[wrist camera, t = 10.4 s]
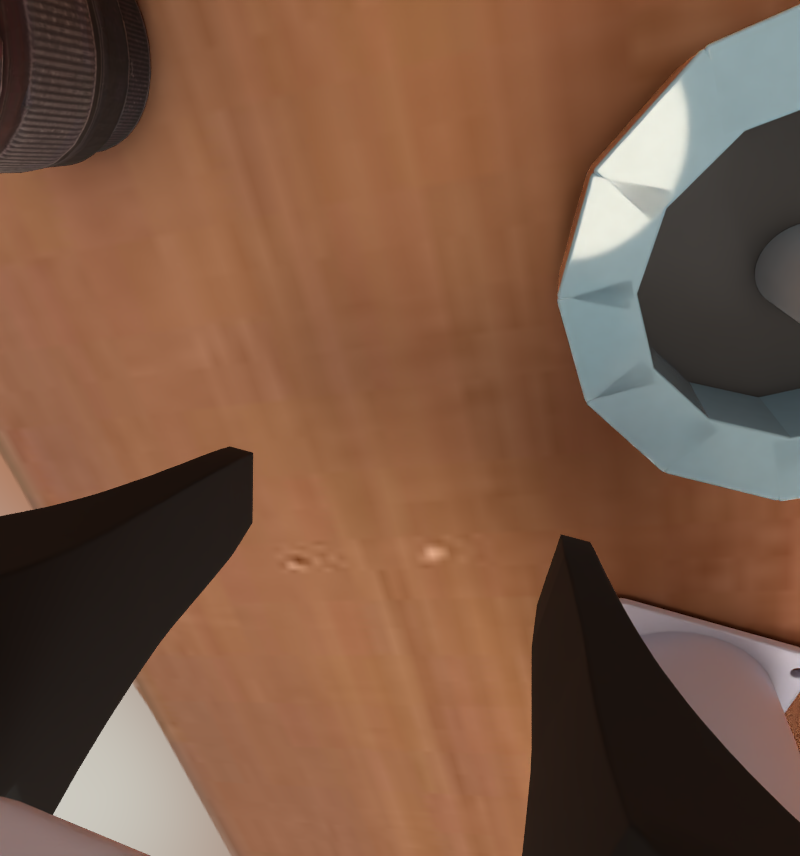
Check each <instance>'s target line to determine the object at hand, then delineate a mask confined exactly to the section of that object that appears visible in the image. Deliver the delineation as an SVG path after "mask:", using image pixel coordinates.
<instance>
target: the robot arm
mask: <svg viewBox="0 0 800 856" xmlns="http://www.w3.org/2000/svg"><path fill="white" fill-rule="evenodd" d="M252 510H253V453H252V452H248V451H244V450H241V449H237V448H233V447H227V448H223V449H220V450H217V451H214V452H211V453H209V454H206V455H203V456H201V457H198V458H196V459H193V460H190V461H188V462H185V463H183V464H180V465H177V466H175V467H172V468H170V469H167V470H164V471H162V472H159V473H156V474H154V475H151V476H148V477H146V478H143V479H140V480H137V481H134V482H131V483H128V484H125V485H122V486H119V487H116V488H113V489H110V490H107V491H104V492H101V493H98V494H95V495H91V496H88V497H84V498H81V499H77V500H73V501H69V502H65V503H61V504H57V505H53V506H49V507H45V508H40V509H35V510H30V511H25V512H20V513H15V514H9V515H5V516H0V856H150V855H147V854H145V853H142V852H140V851H137V850H135V849H132V848H130V847H128V846H125V845H123V844H121V843H118V842H116V841H114V840H111V839H109V838H106V837H104V836H101V835H99V834H97V833H94V832H92V831H90V830H87V829H85V828H82V827H80V826H77V825H75V824H73V823H70V822H68V821H65V820H63V819H61V818H58V817H56V816H53V813H54V812H55V810H56V808H57V806H58V804H59V803H60V801H61V799H62V797H63V796H64V794H65V792H66V790H67V788H68V787H69V785H70V783H71V781H72V780H73V778H74V776H75V774H76V772H77V771H78V769H79V768H80V766H81V764H82V763H83V761H84V759H85V758H86V756H87V754H88V753H89V750H90V749H91V748H92V746H93V744H94V743H95V741H96V739H97V737H98V736H99V734H100V733H101V731H102V729H103V728H104V726H105V725H106V723H107V721H108V720H109V718H110V716H111V715H112V714H113V712H114V710H115V709H116V707H117V706H118V704H119V703H120V701H121V700H122V698H123V696H124V695H125V693H126V692H127V690H128V689H129V687H130V686H131V684H132V682H133V681H134V680H135V678H136V677H137V675H138V674H139V672H140V671H141V669H142V668H143V666H144V665H145V663H146V662H147V660H148V659H149V658H150V656H151V655H152V653H153V652H154V650H155V649H156V647H157V646H158V644H159V643H160V642H161V641H162V639H163V638H164V637H165V635H166V634H167V633H168V631H169V630H170V629H171V628H172V626H173V625H174V624H175V623H176V622H177V621H178V619H179V618H180V617H181V616H182V615H183V613H184V612H185V611H186V610H187V609H188V608H189V606H190V605H191V604H192V603H193V602H194V600H195V599H196V598H197V597H198V596H199V594H200V593H201V592H202V591H203V590H204V589H205V587H206V586H207V585H208V584H209V583H210V581H211V580H212V579H213V578H214V577H215V575H216V574H217V573H218V572H219V571H220V569H221V568H222V567H223V566H224V565H225V563H226V562H227V561H228V560H229V558H230V557H231V556H232V554H233V553H234V551H235V550H236V548H237V547H238V545H239V543H240V542H241V540H242V539H243V537H244V535H245V534H246V532H247V530H248V529H249V527H250V525H251V524H252ZM796 668H800V647H797V646H794V645H790V644H787V643H783V642H779V641H776V640H772V639H769V638H765V637H761V636H758V635H754V634H751V633H747V632H744V631H740V630H736V629H733V628H729V627H726V626H722V625H718V624H715V623H711V622H708V621H704V620H701V619H697V618H693V617H690V616H686V615H683V614H679V613H676V612H672V611H668V610H665V609H661V608H658V607H654V606H650V605H647V604H643V603H640V602H636V601H633V600H629V599H625V598H618V596H617V594H616V592H615V591H614V589H613V587H612V585H611V583H610V581H609V579H608V577H607V575H606V573H605V571H604V569H603V567H602V565H601V563H600V560H599V558H598V556H597V554H596V552H595V550H594V548H593V546H592V545H591V543H590V542H588V541H584V540H580V539H576V538H573V537H569V536H565V535H561V536H560V539H559V542H558V545H557V547H556V550H555V553H554V556H553V559H552V562H551V565H550V568H549V571H548V574H547V577H546V580H545V583H544V586H543V589H542V592H541V595H540V598H539V601H538V604H537V610H536V617H535V625H534V633H533V642H532V754H531V774H530V784H529V795H528V805H527V815H526V825H525V834H524V843H523V853H522V856H800V752H799V749H798V747H797V744H796V742H795V739H794V737H793V734H792V732H791V729H790V726H789V724H788V721H787V719H786V716H785V714H784V713H785V712H786V710H787V709H788V708H789V706H790V705H791V703H792V702H793V701H794V699H795V698H796V696H797V695H798V694H799V692H800V669H798V670H793V669H796Z"/></svg>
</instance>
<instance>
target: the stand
mask: <svg viewBox="0 0 800 856" xmlns="http://www.w3.org/2000/svg"><path fill="white" fill-rule="evenodd" d="M637 295H638V299H639V304H640V308H641V312H642V317H643V321H644V325H645V330H646V334H647V339H648V343H649V345H650V346H651V347H652V348H653V349H654V350H655V351H656V352H657V353H658V354H659V355H660V356H662V357H663V358H664V359H665V360H666V361H667V362H668V363H669V364H670V365H671V366H672V367H674V368H675V369H676V370H677V371H678V372H679V373H680V374H681V375H682V376H683V377H684V378H685V379H687V380H688V381H689V382H691V383H695V384H700V385H704V386H709V387H713V388H718V389H722V390H727V391H731V392H736V393H741V394H745V395H750V396H754V397H763V396H767V395H772V394H776V393H781V392H786V391H790V390H795V389H800V111H797V112H794V113H792V114H789V115H786V116H784V117H781V118H778V119H776V120H773V121H770V122H768V123H765V124H763V125H760V126H757V127H755V128H752V129H749V130H747V131H745V132H744V133H743V134H742V135H741V136H740V137H739V138H738V139H737V140H736V141H735V142H734V143H733V144H732V145H731V146H729V147H728V148H727V149H726V150H725V151H724V152H723V153H722V154H721V155H720V156H719V157H718V158H717V159H716V160H715V161H714V162H713V163H712V164H711V165H710V166H709V167H708V168H707V169H706V170H705V171H704V172H703V173H702V174H701V175H700V176H699V177H698V178H697V179H696V180H695V181H694V182H693V183H692V184H691V185H690V186H689V187H688V188H687V189H686V190H685V191H684V192H683V193H682V194H681V195H680V196H679V197H678V198H677V199H676V200H675V201H674V202H673V203H672V204H671V205H670V206H669V207H668V208H667V210H666V212H665V215H664V218H663V221H662V224H661V227H660V230H659V233H658V236H657V238H656V241H655V244H654V247H653V250H652V253H651V256H650V259H649V262H648V264H647V267H646V270H645V273H644V276H643V279H642V282H641V285H640V288H639V291H638V293H637Z"/></svg>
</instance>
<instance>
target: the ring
mask: <svg viewBox="0 0 800 856" xmlns="http://www.w3.org/2000/svg"><path fill="white" fill-rule="evenodd" d="M797 111H800V4H798V5H796V6H794V7H792V8H789V9H787V10H785V11H782V12H780V13H778V14H776V15H773V16H771V17H769V18H766V19H764V20H762V21H760V22H757V23H755V24H753V25H751V26H748V27H746V28H744V29H741V30H739V31H737V32H735V33H732V34H730V35H728V36H726V37H723V38H721V39H719V40H716V41H714V42H712V43H710V44H708V45H706V46H705V47H704V48H703V49H701V50H700V51H698V52H697V53H696V54H695V55H693V56H692V57H691V58H690V59H688V60H687V61H686V62H684V63H683V64H682V65H681V66H679V67H678V68H677V69H676V70H675V71H674V72H673V74H672V75H671V76H670V77H669V78H668V79H667V80H666V81H665V83H664V84H663V85H662V86H661V87H660V88H659V89H658V90H657V92H656V93H655V94H654V95H653V96H652V97H651V98H650V99H649V101H648V102H647V103H646V104H645V105H644V106H643V107H642V108H641V110H640V111H639V112H638V113H637V114H636V115H635V116H634V117H633V119H632V120H631V121H630V122H629V123H628V124H627V125H626V126H625V128H624V129H623V130H622V131H621V132H620V133H619V134H618V135H617V137H616V138H615V139H614V140H613V141H612V142H611V143H610V145H609V146H608V147H607V148H606V149H605V150H604V151H603V152H602V154H601V155H600V156H599V157H598V158H597V159H596V160H595V161H594V163H593V164H592V165H591V166H590V168H589V169H590V170H589V171H588V172H587V173H586V177H585V180H584V184H583V188H582V191H581V195H580V199H579V202H578V206H577V210H576V213H575V217H574V221H573V224H572V228H571V232H570V235H569V239H568V243H567V246H566V250H565V254H564V257H563V261H562V264H561V268H560V272H559V275H558V291H557V303H558V307H559V310H560V314H561V317H562V321H563V325H564V328H565V332H566V335H567V339H568V343H569V346H570V350H571V353H572V357H573V360H574V364H575V368H576V371H577V375H578V378H579V382H580V386H581V389H582V393H583V396H584V400H585V401H586V403H587V405H588V406H589V407H591V408H592V409H593V410H594V411H595V412H596V413H597V414H598V415H599V416H601V417H602V418H603V419H604V420H605V421H606V422H607V423H608V424H610V425H611V426H612V427H613V428H614V429H615V430H616V431H617V432H618V433H620V434H621V435H622V436H623V437H624V438H625V439H626V440H627V441H629V442H630V443H631V444H632V445H633V446H634V447H635V448H636V449H637V450H639V451H640V452H641V453H642V454H643V455H644V456H645V457H646V458H648V459H649V460H650V461H651V462H652V463H653V464H654V465H655V466H656V467H658V468H659V469H660V470H661V471H662V472H666V473H667V474H672V475H676V476H680V477H684V478H688V479H692V480H696V481H700V482H704V483H708V484H712V485H716V486H720V487H724V488H728V489H732V490H736V491H740V492H744V493H748V494H752V495H756V496H760V497H764V498H768V499H772V500H779V501H786V500H792V499H799V498H800V389H795V390H790V391H786V392H781V393H776V394H772V395H767V396H763V397H754V396H750V395H745V394H741V393H736V392H731V391H727V390H722V389H718V388H713V387H709V386H704V385H700V384H695V383H691V382H689V381H688V380H687V379H685V378H684V377H683V376H682V375H681V374H680V373H679V372H678V371H677V370H676V369H675V368H674V367H672V366H671V365H670V364H669V363H668V362H667V361H666V360H665V359H664V358H663V357H662V356H660V355H659V354H658V353H657V352H656V351H655V350H654V349H653V348H652V347H651V346H650V345H649V343H648V339H647V334H646V330H645V325H644V321H643V317H642V312H641V308H640V304H639V299H638V295H637V293H638V291H639V288H640V285H641V282H642V279H643V276H644V273H645V270H646V267H647V264H648V262H649V259H650V256H651V253H652V250H653V247H654V244H655V241H656V238H657V236H658V233H659V230H660V227H661V224H662V221H663V218H664V215H665V212H666V210H667V208H668V207H669V206H670V205H671V204H672V203H673V202H674V201H675V200H676V199H677V198H678V197H679V196H680V195H681V194H682V193H683V192H684V191H685V190H686V189H687V188H688V187H689V186H690V185H691V184H692V183H693V182H694V181H695V180H696V179H697V178H698V177H699V176H700V175H701V174H702V173H703V172H704V171H705V170H706V169H707V168H708V167H709V166H710V165H711V164H712V163H713V162H714V161H715V160H716V159H717V158H718V157H719V156H720V155H721V154H722V153H723V152H724V151H725V150H726V149H727V148H728V147H729V146H731V145H732V144H733V143H734V142H735V141H736V140H737V139H738V138H739V137H740V136H741V135H742V134H743V133H744V132H745V131H747V130H749V129H752V128H755V127H757V126H760V125H763V124H765V123H768V122H770V121H773V120H776V119H778V118H781V117H784V116H786V115H789V114H792V113H794V112H797Z"/></svg>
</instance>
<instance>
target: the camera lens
mask: <svg viewBox="0 0 800 856" xmlns="http://www.w3.org/2000/svg"><path fill="white" fill-rule="evenodd" d="M150 77H151V65H150V52H149V43H148V38H147V33H146V28H145V25H144V22H143V19H142V16H141V13H140V10H139V7H138V5H137V3H136V1H135V0H0V173H22V172H28V171H33V170H38V169H43V168H48V167H57V166H67V165H73V164H76V163H79V162H82V161H84V160H86V159H87V158H89V157H91V156H92V155H94V154H95V153H96V152H100V151H104V150H107V149H109V148H111V147H113V146H115V145H117V144H119V143H120V142H121V141H123V140H124V139H125V138H126V137H127V136H128V135H129V134H130V133H131V132H132V131H133V129H134V128H135V127H136V125H137V123H138V122H139V120H140V117H141V115H142V113H143V111H144V108H145V105H146V102H147V98H148V93H149V86H150Z"/></svg>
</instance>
